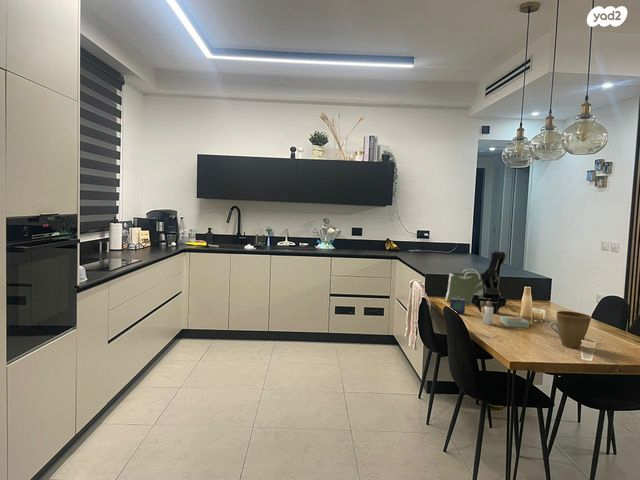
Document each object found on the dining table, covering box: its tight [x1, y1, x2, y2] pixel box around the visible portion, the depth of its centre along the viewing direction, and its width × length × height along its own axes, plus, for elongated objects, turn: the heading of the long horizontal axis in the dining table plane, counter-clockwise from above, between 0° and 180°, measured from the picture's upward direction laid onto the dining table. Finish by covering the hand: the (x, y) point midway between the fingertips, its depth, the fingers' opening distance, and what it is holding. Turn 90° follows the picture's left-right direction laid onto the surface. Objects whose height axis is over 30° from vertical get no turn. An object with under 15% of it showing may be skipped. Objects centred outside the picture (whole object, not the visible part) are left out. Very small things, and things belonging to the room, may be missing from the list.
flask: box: [449, 296, 466, 315], centre depth 283 cm, size 9×3×11 cm, turn 88°
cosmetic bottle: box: [482, 301, 494, 326], centre depth 261 cm, size 5×5×13 cm
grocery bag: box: [444, 268, 486, 306], centre depth 317 cm, size 32×14×23 cm, turn 79°
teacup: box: [549, 321, 560, 337], centre depth 241 cm, size 14×11×8 cm
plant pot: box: [556, 310, 592, 349], centre depth 225 cm, size 15×15×16 cm
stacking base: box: [499, 315, 531, 329], centre depth 263 cm, size 12×12×3 cm
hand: (488, 312), depth 259 cm, fingers open, 8 cm apart
